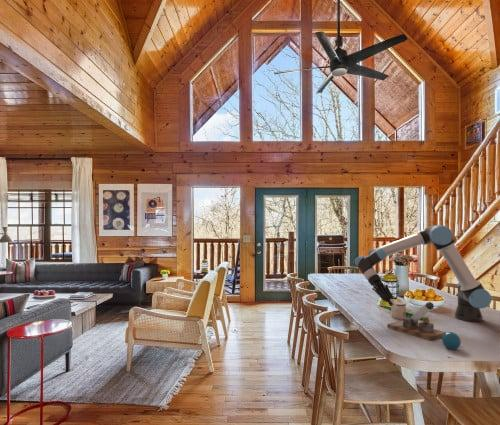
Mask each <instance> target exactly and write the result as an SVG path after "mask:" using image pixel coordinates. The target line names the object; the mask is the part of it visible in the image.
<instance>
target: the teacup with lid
mask: <svg viewBox="0 0 500 425" xmlns="http://www.w3.org/2000/svg"><path fill="white" fill-rule="evenodd" d="M393 301H394V302H395V304H396V305H397V306H398V308H399V309H397V310H396V311H394V310H393V308H392V307H391V306H390V307H391V311H390V314H391V315H390V316H391V317H392V318H393V319H398V320H399V319H401V320H403V319H404V318H406V317H407V316H406V311H407V307H406V305H407V304H406V303H405V302H403V301H402V300H401V299H400V298H397V299H396V300H393ZM406 319H407V318H406Z"/></svg>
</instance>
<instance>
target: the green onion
mask: <svg viewBox="0 0 500 425" xmlns="http://www.w3.org/2000/svg"><path fill="white" fill-rule="evenodd" d="M383 307H384V309H388V311H390V312H391V306H386V305H384V306H383ZM414 314H415V313H414V312H410V311H407V310H406V317H411V316H413V315H414ZM425 317H426V318H428V319H429V317H427V316H425V315H424V316H423V317H422V318H420V319H419V320H420V321H421V320H422V321H423V318H425Z"/></svg>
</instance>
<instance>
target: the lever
mask: <svg viewBox="0 0 500 425" xmlns="http://www.w3.org/2000/svg"><path fill="white" fill-rule="evenodd" d="M434 305H435V304H434V303H433V302H431V301H427V302H425V304H424V305H422V307H421V308H419V309H418V310H417V311H416V312H415V313H414V315H413V316H409V318H408V319H410V320H412V325H413V324H415V323H416V322H417V321H418V322H419V320H421V319H420V318H422V317H423V316H424V317H425V315H427V314H428V313H429V312H430V311H431V310H433V309H434V308H435V307H434Z"/></svg>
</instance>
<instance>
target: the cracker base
mask: <svg viewBox="0 0 500 425" xmlns="http://www.w3.org/2000/svg"><path fill="white" fill-rule="evenodd" d="M424 317H425V318H423V320H422V322H419V320H418V321H417V322H416V323H415V324H413V325H412V320H410V319H409V318H404V319H402V320H398V321H395V322H390V323H386V324H387V326H386V327H387V328H388V329H392V330H395V331H398V332H401V333H405V334H408V335H410V336H411V335H412V336H415V337H417V338H422V339H425V340H428V341H435V340H437V339H440V338H441V339H442V337H443V335H444V334H445V333H446V331H443V330H440V329H435V327H434V325H435V324H434V323H432V322H430V319H429V317H428V318H426V317H427V316H424Z"/></svg>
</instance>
